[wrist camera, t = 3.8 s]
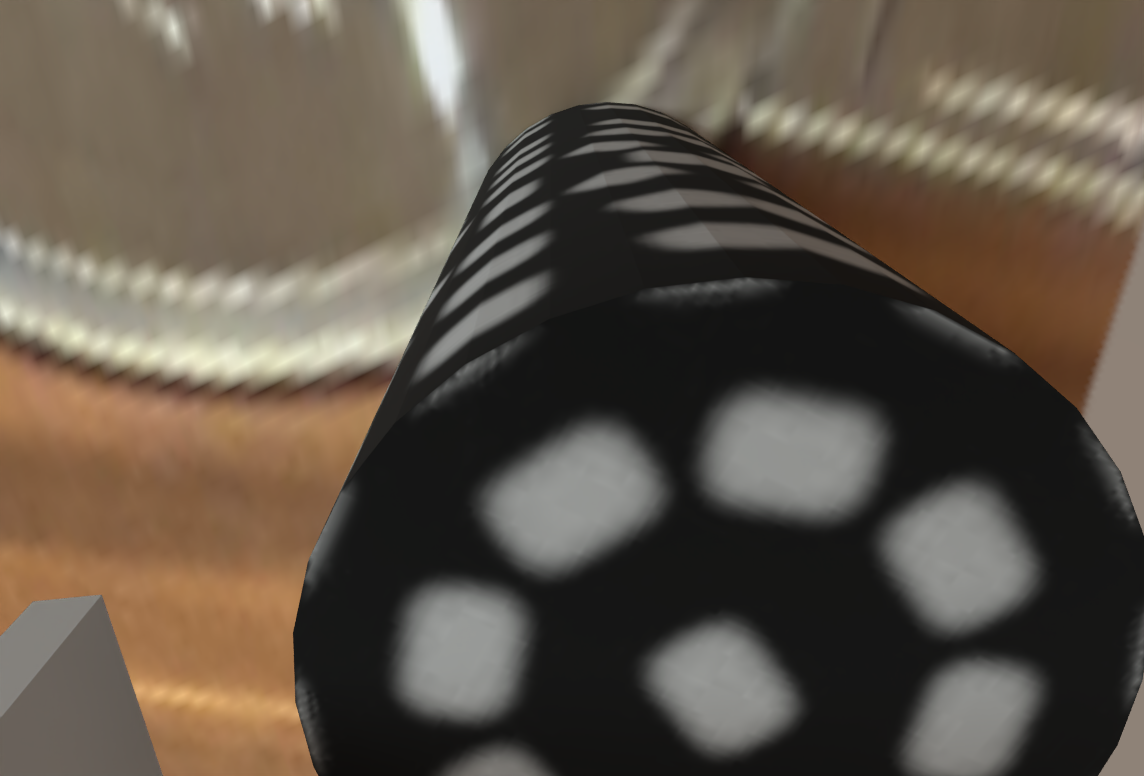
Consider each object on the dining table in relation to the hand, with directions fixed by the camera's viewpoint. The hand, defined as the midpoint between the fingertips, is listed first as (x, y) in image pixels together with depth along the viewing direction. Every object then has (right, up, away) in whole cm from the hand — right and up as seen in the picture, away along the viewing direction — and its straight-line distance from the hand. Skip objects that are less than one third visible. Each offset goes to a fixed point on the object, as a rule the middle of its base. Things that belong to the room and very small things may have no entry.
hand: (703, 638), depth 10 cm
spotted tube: (0, +7, +18) cm, 19 cm away
